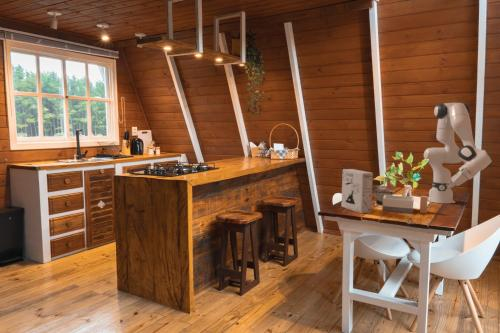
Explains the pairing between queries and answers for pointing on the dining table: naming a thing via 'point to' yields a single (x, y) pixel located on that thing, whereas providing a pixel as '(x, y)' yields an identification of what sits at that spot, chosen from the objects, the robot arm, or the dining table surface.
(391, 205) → the socket box
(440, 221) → the dining table surface
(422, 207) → the peg
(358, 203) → the cereal box
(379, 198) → the food container
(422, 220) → the dining table surface
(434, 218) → the dining table surface
